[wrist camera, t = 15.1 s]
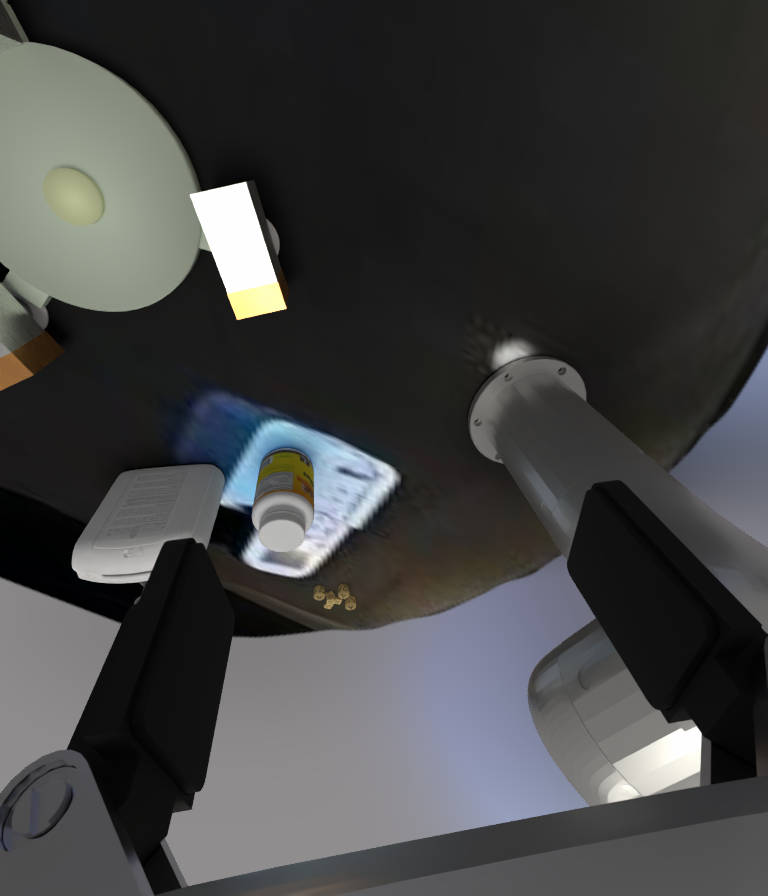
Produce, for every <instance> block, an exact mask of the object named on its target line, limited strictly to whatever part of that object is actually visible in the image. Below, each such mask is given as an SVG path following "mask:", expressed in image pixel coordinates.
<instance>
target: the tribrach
mask: <svg viewBox="0 0 768 896" xmlns="http://www.w3.org/2000/svg"><path fill="white" fill-rule="evenodd" d="M1 2H2V4H3V5H4V7H5V9H6V11H7V13H8V15H9V17H10V18H11V20H12V22H13V24H14V26H15V28H16V30H17V31H18V33H19V35H20V37H21V39H22V41H23V43H24V45H21V46H17V47H14V48H11V49H7V50H4V51H1V52H0V262H1V263H2V264H3V265H4V266H6V267H7V268H8V269H9V270H10V271H9V273H8V274H7V276H6V278H5V279H4V281H3V282H2V283H1V284H2V285H3V286H4V287H5V288H6V289H7V290H8V291H9V292H10V294H11V295H13V296H16V297H18V298H20V299H22V300H23V301H24V302H26V303H27V304H28V306H29V307H30V308H31V310H32V313H33V319H34V320H35V321H36V322H37V323H38V324H39V325H40V326H41V327H42V328H43V330H44V329H45V328H46V326H47V325H48V322H49V314H48V310H47V308H46V305H47V304H48V303H49V301H50V300H51V298H52V297H54V298H56V299H59V300H61V301H63V302H66V303H69V304H72V305H75V306H78V307H82V308H87V309H92V310H97V311H109V312H115V311H129V310H135V309H139V308H142V307H145V306H149V305H151V304H153V303H155V302H157V301H159V300H161V299H162V298H164V297H165V296H167V295H168V294H169V293H171V292H172V291H173V290H174V289H175V288H176V287H177V286H178V285H179V284H180V283H181V282H182V281H183V280H184V279H185V278H186V277H187V276H188V274H189V273H190V271H191V270H192V269H193V267H194V265H195V263H196V261H197V259H198V256H199V253H200V250H201V249H204V250H208V251H211V248H210V246H209V243H208V240H207V238H206V235H205V233H204V230H203V228H202V225H201V222H200V220H199V217H198V215H197V212H196V210H195V207H194V204H193V202H192V199H191V197H190V194H194V193H198V192H201V188H200V185H199V181H198V178H197V175H196V172H195V170H194V167H193V165H192V163H191V160H190V158H189V156H188V154H187V152H186V150H185V148H184V147H183V145H182V143H181V141H180V140H179V138H178V136H177V135H176V133H175V132H174V131H173V129H172V128H171V126H170V125H169V123H168V122H167V121H166V120H165V118H164V117H163V116H162V115H161V114H160V113H159V111H158V110H157V109H156V108H155V107H154V106H153V105H152V104H151V103H150V102H149V101H148V100H147V99H146V98H145V97H144V96H143V95H142V94H141V93H140V92H139V91H137V90H136V89H135V88H133V87H132V86H131V85H130V84H128V83H127V82H126V81H125V80H123V79H122V78H120V77H118V76H117V75H115V74H114V73H112V72H111V71H109V70H107V69H106V68H104V67H101V66H99V65H97V64H95V63H93V62H91V61H89V60H87V59H85V58H83V57H80V56H78V55H76V54H74V53H71V52H68V51H65V50H63V49H60V48H57V47H54V46H49V45H44V44H39V43H34V42H29V40H28V38H27V36H26V34H25V32H24V31H23V29H22V27H21V25H20V23H19V21H18V19H17V17H16V16H15V14H14V12H13V10H12V8H11V6H10V5H9V4H7V0H1ZM266 221H267V224H268V227H269V231H270V234H271V237H272V240H273V244H274V247H275V250H276V253H277V255H278V252H279V237H278V234H277V232H276V230H275V228H274V226H273V225H272V224H271V223H270V222H269V221H268V220H267V219H266Z"/></svg>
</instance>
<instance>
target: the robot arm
mask: <svg viewBox="0 0 768 896" xmlns="http://www.w3.org/2000/svg"><path fill="white" fill-rule="evenodd" d="M506 374H507V375H506ZM505 375H506V376H505ZM468 430H469V434H470V437H471V439H472V441H473V443H474V444H475V446H476V448H477V449H478V451H480V452H481V453H482V454H483V455H484V456H485V457H487V458H489V459H490V460H492V461H495V462H499V463H503V464H504V465H505V466H506V468H507V469H508V471H509V472H510V474H511V475H512V477H513V479H514V480H515V482H516V483H517V485H518V486H519V488H520V490H521V491H522V493H523V494H524V496H525V497H526V499H527V500H528V502H529V504H530V505H531V507H532V508H533V510H534V511H535V513H536V515H537V516H538V518H539V519H540V521H541V522H542V524H543V525H544V527H545V529H546V530H547V532H548V533H549V535H550V536H551V538H552V540H553V541H554V542H555V544H556V545H557V547H558V548H559V550H560V551H561V553H562V554H563V555H564V557H565V558H566V559H567V560H568V561H567V568H568V572H569V574H570V576H571V578H572V580H573V581H574V583H575V584H576V586H577V588H578V589H579V591H580V593H581V594H582V596H583V597H584V599H585V600H586V602H587V604H588V605H589V607H590V609H591V610H592V612H593V614H594V615H595V617H596V619H594V620H593V621H591V622H590V623H589V624H587V625H586V626H584V627H583V628H582V629H580V630H579V631H577V632H576V633H574V634H573V635H572V636H570V637H569V638H567V639H566V640H565V641H563V642H562V643H561V644H560V645H558V646H557V647H556V648H554V649H553V650H552V651H551V652H550V653H548V654H547V655H546V656H545V657H543V658H542V660H541V661H540V662H539V663H538V664H537V665H536V667H535V668H534V670H533V672H532V674H531V676H530V679H529V684H528V704H529V709H530V712H531V716H532V719H533V722H534V724H535V727H536V729H537V731H538V733H539V735H540V738H541V740H542V742H543V743H544V745H545V747H546V749H547V750H548V752H549V754H550V755H551V757H552V758H553V760H554V761H555V763H556V764H557V766H558V767H559V768H560V770H561V771H562V772H563V774H564V775H565V777H566V778H567V779H568V781H569V782H570V783H571V784H572V786H573V787H574V788H575V789H576V790H577V792H578V793H579V794H580V795H581V796H582V797H583V799H584V800H585V801H586V802H587V803H588V804H589V806H590V807H585V808H581V809H575V810H569V811H564V812H559V813H553V814H548V815H543V816H538V817H533V818H527V819H522V820H517V821H511V822H506V823H501V824H496V825H490V826H485V827H480V828H475V829H470V830H464V831H459V832H454V833H449V834H444V835H439V836H434V837H429V838H423V839H418V840H412V841H408V842H402V843H397V844H392V845H387V846H382V847H377V848H372V849H367V850H361V851H356V852H351V853H346V854H342V855H336V856H331V857H327V858H321V859H316V860H311V861H306V862H300V863H295V864H290V865H285V866H280V867H275V868H271V869H266V870H262V871H257V872H252V873H248V874H243V875H239V876H234V877H230V878H225V879H220V880H216V881H211V882H207V883H202V884H197V885H192V886H187V883H186V881H185V879H184V877H183V875H182V873H181V871H180V869H179V867H178V865H177V863H176V861H175V858H174V856H173V854H172V852H171V850H170V848H169V846H168V844H167V842H166V840H165V837H166V836H167V834H168V829H169V824H170V820H171V816H172V813H175V812H180V811H186V810H191V809H192V805H193V800H194V794H195V792H199V791H201V789H202V787H203V785H204V783H205V778H206V773H207V767H208V763H209V757H210V752H211V747H212V741H213V736H214V731H215V726H216V720H217V715H218V709H219V704H220V699H221V693H222V688H223V683H224V678H225V672H226V667H227V662H228V656H229V651H230V645H231V641H232V635H233V630H234V613H233V610H232V607H231V605H230V603H229V601H228V598H227V596H226V594H225V591H224V589H223V587H222V584H221V582H220V580H219V578H218V575H217V573H216V571H215V568H214V566H213V564H212V562H211V559H210V557H209V555H208V552H207V550H206V548H205V546H204V544H203V543H197V542H196V541H195V539H194V538H184V539H177V540H170V541H166V542H165V543H164V544H163V546H162V548H161V550H160V552H159V555H158V557H157V560H156V562H155V564H154V567H153V569H152V571H151V574H150V576H149V579H148V581H147V583H146V586H145V588H144V590H143V593H142V595H141V598H140V600H139V602H138V603H137V604H134V605H133V606H132V607H131V608H130V609H129V610H128V612H127V613H126V615H125V617H124V620H123V622H122V624H121V626H120V629H119V631H118V633H117V636H116V638H115V640H114V643H113V645H112V647H111V649H110V652H109V654H108V656H107V658H106V661H105V663H104V665H103V668H102V670H101V672H100V674H99V677H98V679H97V682H96V684H95V686H94V688H93V691H92V693H91V695H90V697H89V700H88V702H87V704H86V706H85V709H84V711H83V714H82V716H81V718H80V720H79V723H78V725H77V727H76V729H75V732H74V734H73V736H72V738H71V741H70V743H69V745H68V748H67V750H61V751H55V752H53V753H50V754H48V755H45V756H42V757H41V758H39V759H38V760H36V761H35V762H33V763H31V764H30V765H28V766H27V767H25V769H23V770H22V771H21V772H20V773H19V774H18V775H17V776H15V777H14V778H13V779H12V780H11V781H10V783H9V784H8V785H7V786H6V787H5V788H4V790H3V791H2V792H1V793H0V896H768V547H766V546H764V545H763V544H761V543H760V542H758V541H757V540H755V539H754V538H752V537H751V536H749V535H748V534H746V533H745V532H744V531H742V530H741V529H739V528H738V527H736V526H735V525H734V524H732V523H731V522H729V521H728V520H727V519H725V518H723V517H722V516H721V515H719V514H718V513H717V512H715V511H714V510H713V509H712V508H710V507H709V506H708V505H707V504H706V503H704V502H703V501H702V500H701V499H699V498H698V497H697V496H695V495H694V494H693V493H692V492H691V491H689V490H688V489H687V488H686V487H684V486H683V485H682V484H681V483H680V482H678V481H677V480H676V479H675V478H674V477H673V476H671V475H670V474H669V473H668V472H667V471H666V470H665V469H663V468H662V467H661V466H660V465H658V464H657V463H656V462H655V461H654V460H653V459H652V458H651V457H649V456H648V455H647V454H646V453H645V452H644V451H642V450H641V449H640V448H639V447H638V446H637V445H636V444H634V443H633V442H632V441H631V440H630V439H629V438H627V437H626V436H625V435H624V434H623V433H622V432H620V431H619V430H618V429H617V428H616V427H615V426H614V425H612V424H611V423H610V422H609V421H608V420H607V419H605V418H604V417H603V416H602V415H601V414H600V413H599V412H597V411H596V410H595V409H594V408H593V407H592V406H590V405H589V404H588V403H587V402H586V388H585V385H584V382H583V380H582V378H581V376H580V375H579V373H578V372H577V371H576V370H575V369H574V368H572V367H571V366H570V365H568V364H567V363H566V362H564V361H562V360H559V359H557V358H553V357H548V356H532V357H528V358H523V359H520V360H517V361H515V362H512V363H510V364H508V365H506V366H505V367H503V368H501V369H499V370H498V371H497V372H496V373H494V374H493V375H492V376H491V377H489V378H488V380H487V381H486V382H485V383H484V384H483V385H482V386H481V387H480V389H479V391H478V392H477V394H476V395H475V397H474V399H473V401H472V404H471V406H470V410H469V414H468Z"/></svg>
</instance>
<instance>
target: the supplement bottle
mask: <svg viewBox="0 0 768 896" xmlns="http://www.w3.org/2000/svg"><path fill="white" fill-rule="evenodd" d="M313 519H314V471H313V465H312V463H311V461H310V459H309V458H308V457H307V456H306V455H305V454H304V453H302V452H300V451H298V450H295V449H291V448H282V449H277V450H274V451H272V452H271V453H269V454H268V455H267V456H266V457H265V458H264V459H263V461H262V462H261V465H260V469H259V475H258V481H257V486H256V492H255V498H254V504H253V510H252V521H253V524H254V526H255V527H256V529H257V530H258V531H259V534H258V536H259V540H260V542H261V544H262V545H263V546H264V547H266V548H267V549H269V550H272V551H276V552H287V551H291V550H294V549H296V548H297V547H299V546H300V545H301V544H302V543H303V541H304V538H305V532H307V531H308V530H309V528H310V527H311V525H312V523H313Z"/></svg>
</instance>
